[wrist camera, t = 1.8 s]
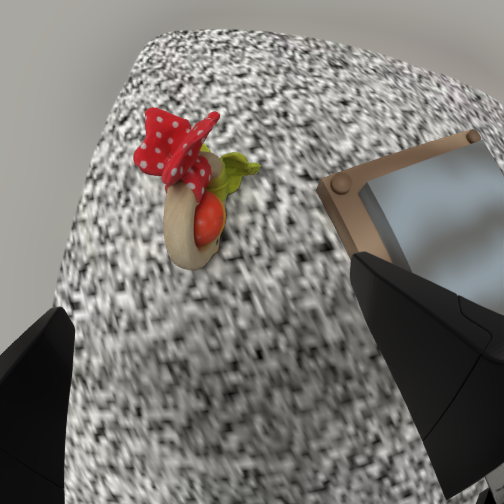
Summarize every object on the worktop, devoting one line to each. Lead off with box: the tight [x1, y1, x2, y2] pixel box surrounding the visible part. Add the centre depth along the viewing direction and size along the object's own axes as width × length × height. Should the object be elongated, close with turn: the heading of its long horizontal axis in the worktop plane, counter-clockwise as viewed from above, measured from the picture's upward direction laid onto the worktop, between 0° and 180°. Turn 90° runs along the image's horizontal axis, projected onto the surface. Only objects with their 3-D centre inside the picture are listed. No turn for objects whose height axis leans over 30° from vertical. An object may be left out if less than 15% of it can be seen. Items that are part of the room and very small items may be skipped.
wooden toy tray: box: [316, 129, 504, 315], centre depth 20 cm, size 18×18×4 cm
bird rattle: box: [133, 107, 261, 270], centre depth 18 cm, size 6×11×9 cm
